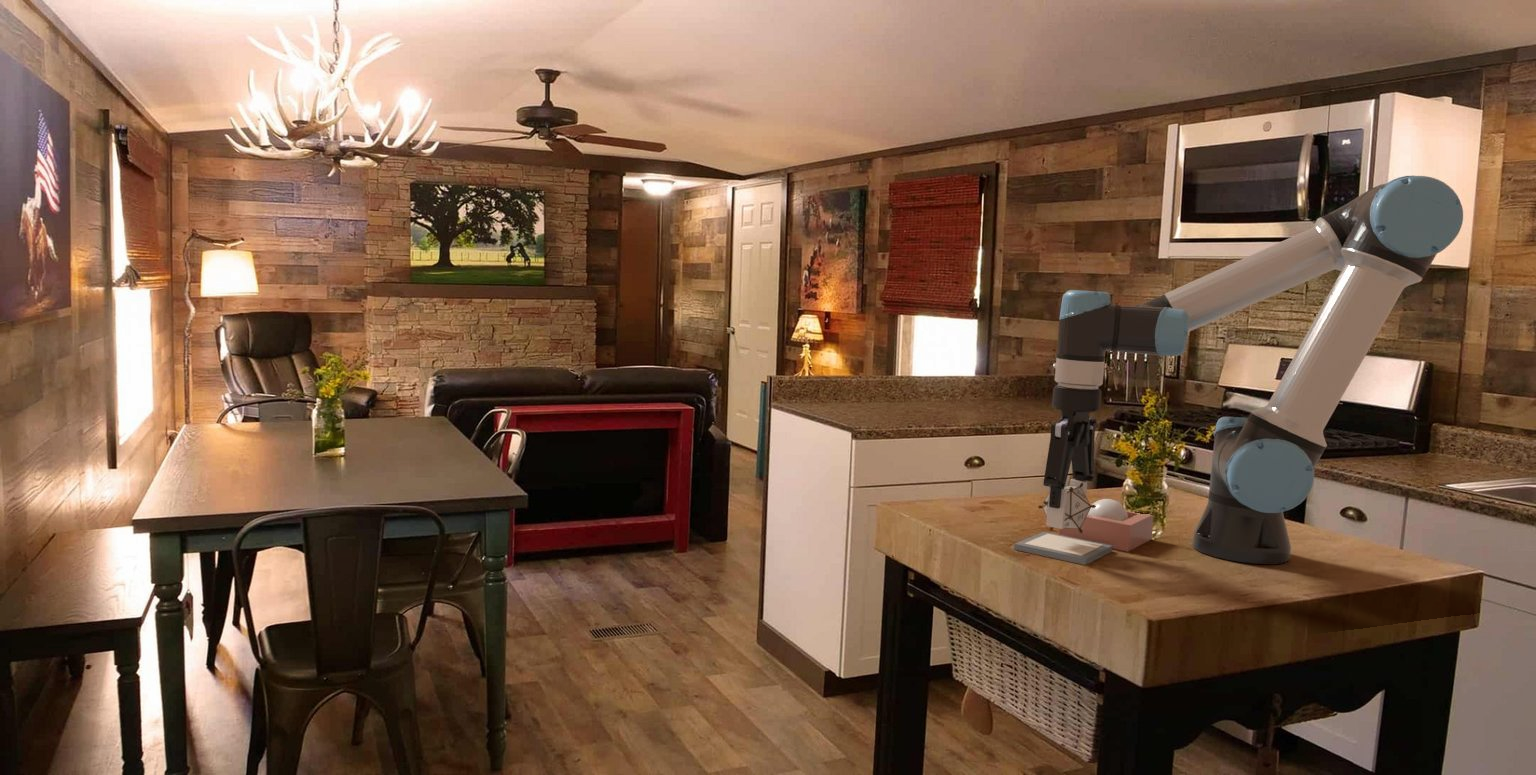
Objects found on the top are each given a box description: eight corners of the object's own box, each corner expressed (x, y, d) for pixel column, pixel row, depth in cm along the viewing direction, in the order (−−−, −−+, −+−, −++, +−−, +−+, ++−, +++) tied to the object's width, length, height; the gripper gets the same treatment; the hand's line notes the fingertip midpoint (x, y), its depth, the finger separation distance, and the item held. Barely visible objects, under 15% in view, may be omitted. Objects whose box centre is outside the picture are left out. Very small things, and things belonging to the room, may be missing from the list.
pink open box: (1151, 539, 184) (1153, 514, 184) (1128, 551, 175) (1130, 525, 174) (1084, 526, 191) (1086, 502, 191) (1059, 537, 182) (1061, 512, 181)
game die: (1067, 550, 175) (1100, 502, 176) (1078, 544, 166) (1112, 494, 168) (1022, 518, 177) (1055, 471, 178) (1030, 511, 168) (1064, 461, 170)
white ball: (1132, 539, 184) (1135, 500, 183) (1118, 546, 178) (1122, 505, 177) (1093, 531, 188) (1096, 493, 187) (1078, 538, 182) (1081, 498, 181)
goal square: (1112, 551, 174) (1112, 545, 174) (1085, 565, 165) (1085, 558, 165) (1043, 537, 181) (1044, 531, 181) (1014, 549, 172) (1014, 543, 172)
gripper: (1079, 380, 180) (1067, 509, 183) (1029, 386, 164) (1017, 528, 167) (1122, 385, 176) (1109, 517, 179) (1075, 392, 159) (1062, 538, 162)
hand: (1065, 522), depth 173 cm, fingers closed on game die, 8 cm apart
